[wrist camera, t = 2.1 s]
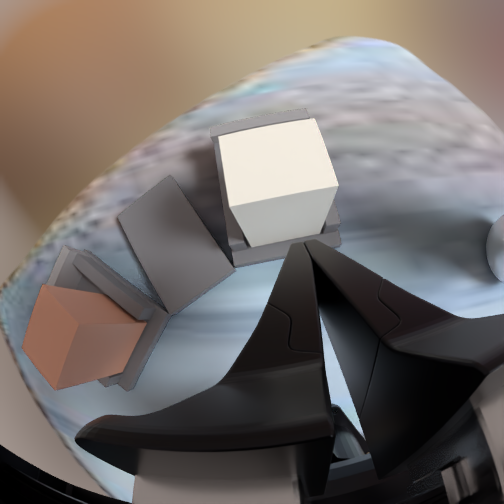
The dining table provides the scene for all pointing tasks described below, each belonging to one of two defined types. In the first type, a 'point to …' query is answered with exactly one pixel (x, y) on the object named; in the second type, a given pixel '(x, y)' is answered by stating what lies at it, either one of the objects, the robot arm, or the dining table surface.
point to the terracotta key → (79, 336)
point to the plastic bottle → (496, 248)
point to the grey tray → (176, 252)
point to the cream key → (278, 180)
